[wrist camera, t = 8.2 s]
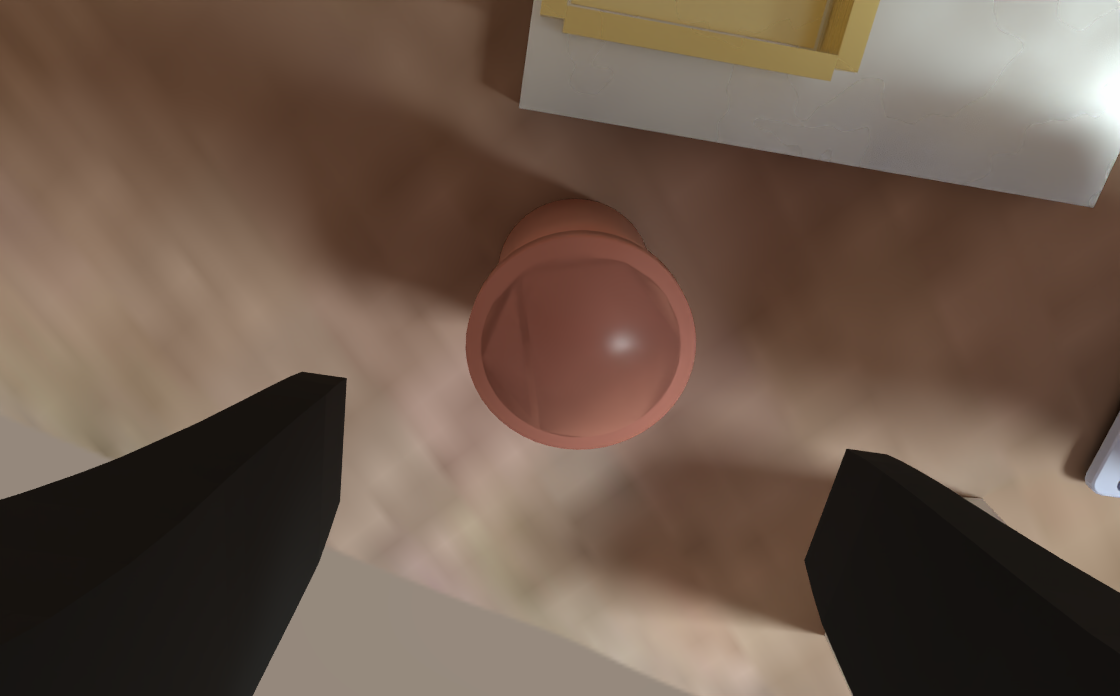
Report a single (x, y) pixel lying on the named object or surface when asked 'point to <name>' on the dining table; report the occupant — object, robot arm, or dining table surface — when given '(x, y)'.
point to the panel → (852, 82)
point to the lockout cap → (579, 330)
